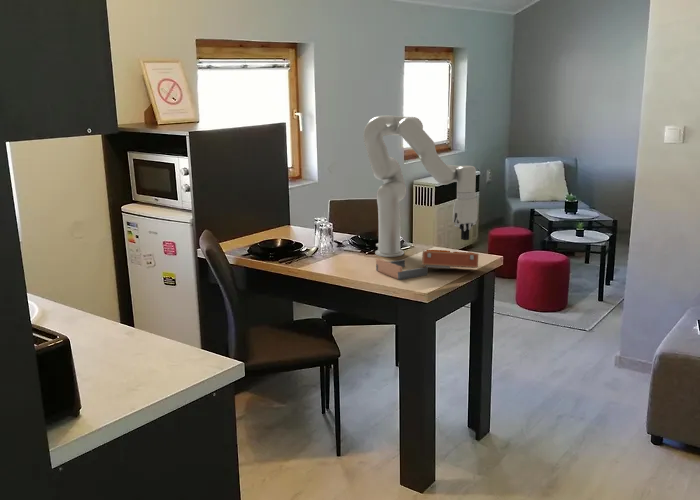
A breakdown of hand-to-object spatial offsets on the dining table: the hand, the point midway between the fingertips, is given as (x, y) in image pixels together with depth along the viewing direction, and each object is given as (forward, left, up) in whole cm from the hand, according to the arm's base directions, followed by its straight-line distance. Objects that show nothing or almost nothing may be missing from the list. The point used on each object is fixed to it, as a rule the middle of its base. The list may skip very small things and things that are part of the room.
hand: (465, 239), depth 275 cm
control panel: (+2, -11, -7) cm, 13 cm away
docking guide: (0, -32, -10) cm, 33 cm away
